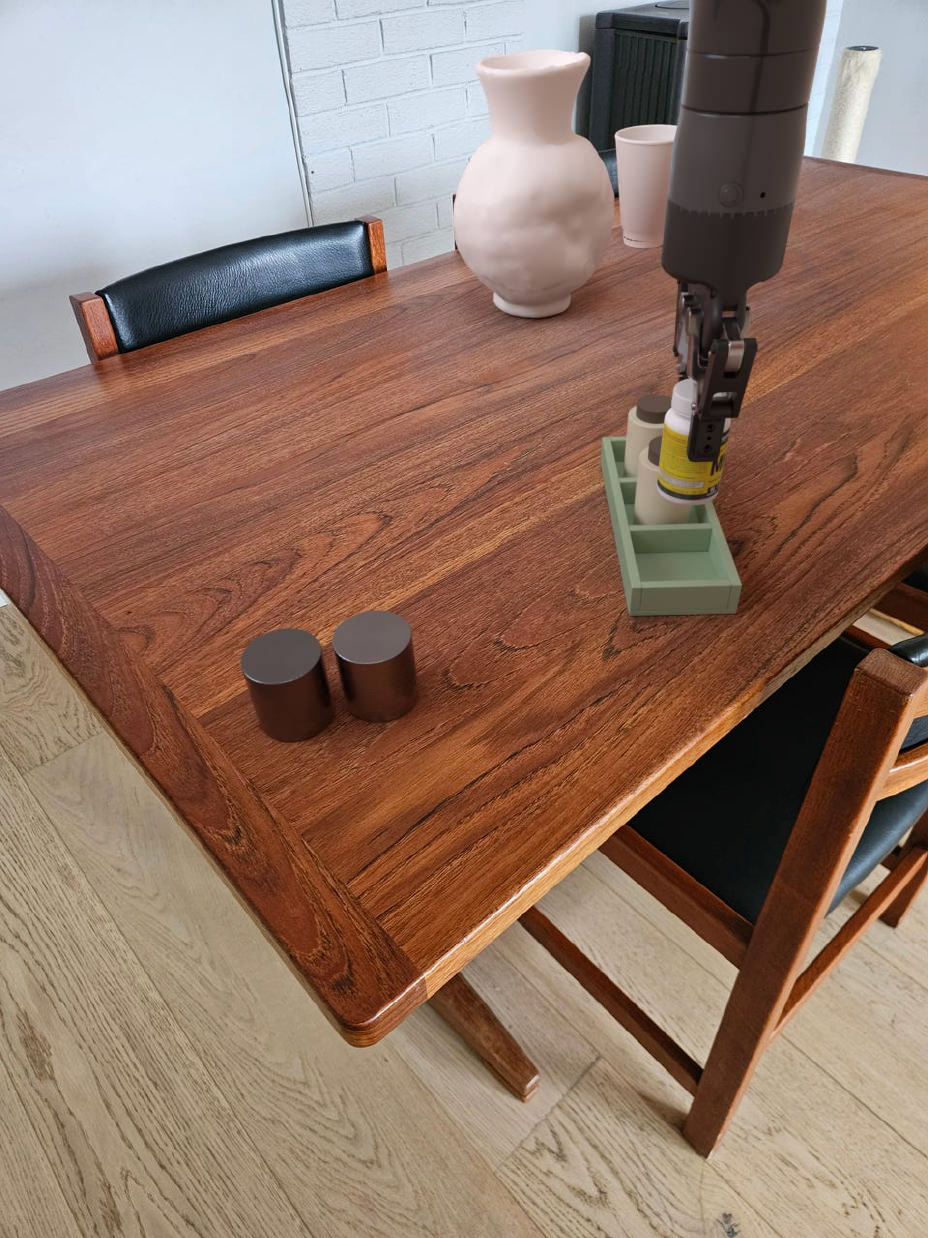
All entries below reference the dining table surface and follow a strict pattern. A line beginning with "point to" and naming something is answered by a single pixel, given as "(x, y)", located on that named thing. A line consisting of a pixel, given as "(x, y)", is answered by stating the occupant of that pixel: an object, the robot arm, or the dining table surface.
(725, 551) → the rack
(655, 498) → the cream bottle
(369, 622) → the grey tin
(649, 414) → the cream bottle
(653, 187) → the cup
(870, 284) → the dining table surface
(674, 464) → the supplement bottle
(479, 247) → the vase
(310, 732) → the grey tin
